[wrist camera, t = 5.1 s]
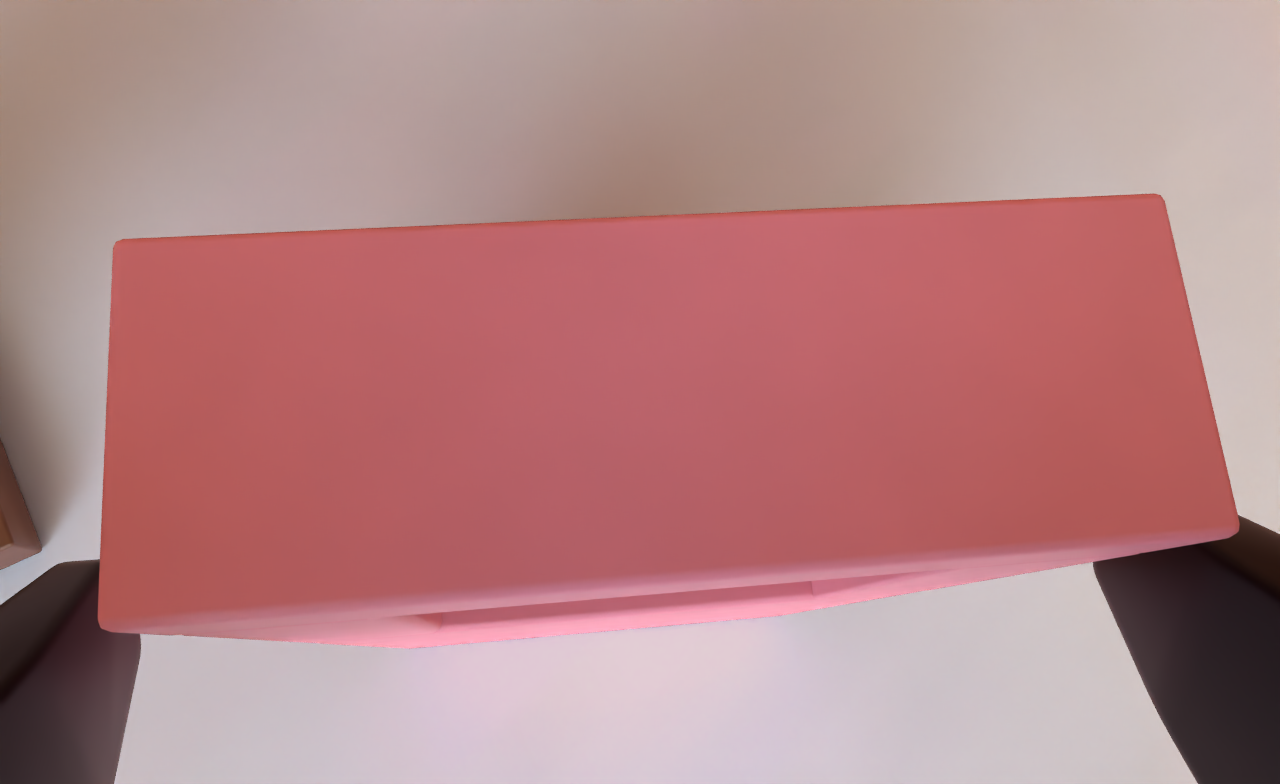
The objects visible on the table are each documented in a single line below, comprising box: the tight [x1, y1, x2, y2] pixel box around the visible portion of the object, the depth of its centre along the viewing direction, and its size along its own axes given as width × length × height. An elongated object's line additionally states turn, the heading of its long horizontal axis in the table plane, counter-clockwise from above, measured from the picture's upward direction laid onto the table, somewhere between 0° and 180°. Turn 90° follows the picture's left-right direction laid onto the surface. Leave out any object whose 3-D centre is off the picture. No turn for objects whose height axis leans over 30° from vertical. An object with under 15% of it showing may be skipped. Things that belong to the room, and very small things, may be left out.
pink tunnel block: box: [98, 194, 1240, 649], centre depth 12 cm, size 2×6×12 cm, turn 95°
